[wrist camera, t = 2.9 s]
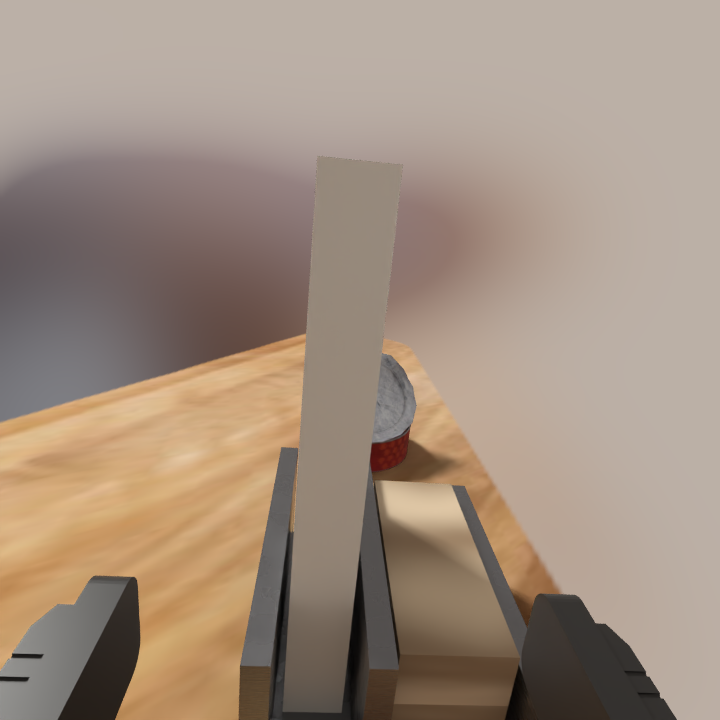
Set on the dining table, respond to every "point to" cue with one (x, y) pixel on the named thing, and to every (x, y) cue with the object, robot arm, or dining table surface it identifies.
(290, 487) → the rack
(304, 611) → the white rectangular board
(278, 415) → the dining table surface
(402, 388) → the canned food
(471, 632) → the offcut top
